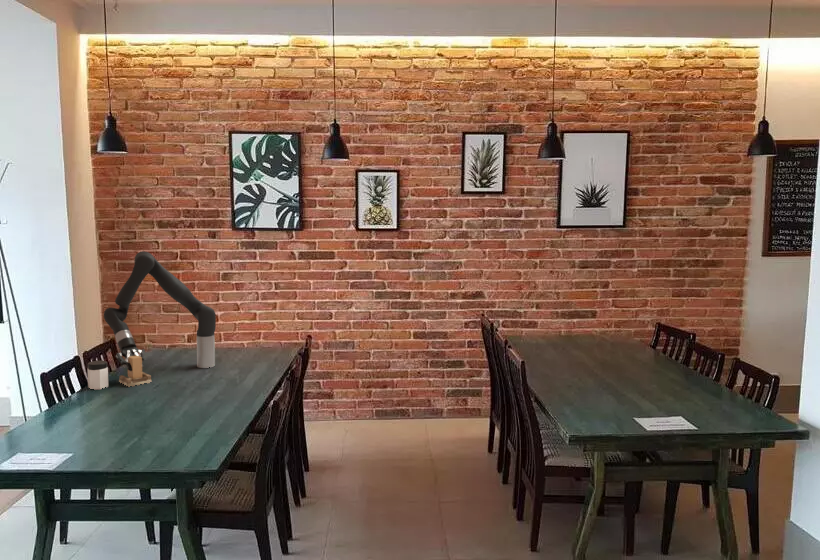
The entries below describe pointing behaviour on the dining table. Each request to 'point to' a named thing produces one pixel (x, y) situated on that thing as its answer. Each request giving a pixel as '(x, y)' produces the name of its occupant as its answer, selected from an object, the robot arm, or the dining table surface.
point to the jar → (97, 374)
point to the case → (135, 367)
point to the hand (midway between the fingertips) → (136, 369)
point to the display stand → (135, 380)
